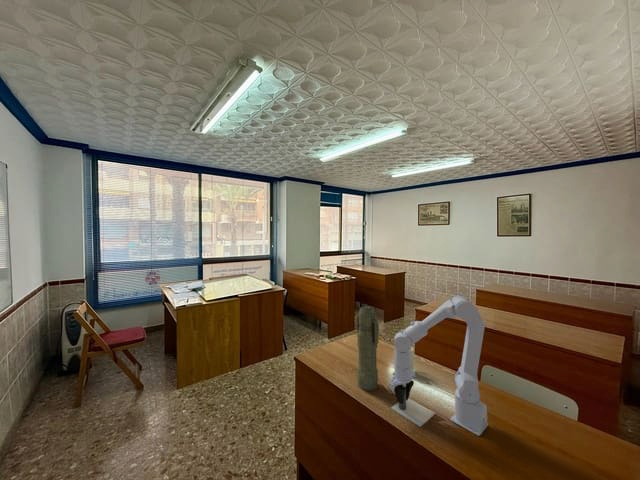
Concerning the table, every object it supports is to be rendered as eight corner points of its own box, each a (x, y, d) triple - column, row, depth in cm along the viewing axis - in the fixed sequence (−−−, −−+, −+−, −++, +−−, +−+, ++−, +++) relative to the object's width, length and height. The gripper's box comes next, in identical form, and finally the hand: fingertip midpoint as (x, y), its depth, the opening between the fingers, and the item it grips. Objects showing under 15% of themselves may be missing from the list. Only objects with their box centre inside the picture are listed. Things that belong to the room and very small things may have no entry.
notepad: (434, 414, 93) (434, 412, 93) (420, 426, 87) (420, 425, 87) (406, 398, 103) (406, 396, 103) (391, 408, 97) (391, 407, 97)
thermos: (372, 395, 105) (372, 311, 105) (351, 383, 114) (350, 306, 113) (384, 386, 111) (384, 307, 111) (363, 376, 120) (363, 302, 119)
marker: (408, 408, 96) (407, 382, 96) (403, 411, 94) (402, 384, 94) (401, 404, 98) (401, 378, 98) (396, 407, 97) (396, 381, 96)
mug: (408, 378, 117) (408, 352, 117) (396, 372, 123) (396, 347, 123) (420, 371, 124) (419, 346, 124) (407, 365, 129) (407, 342, 129)
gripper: (404, 355, 104) (404, 388, 104) (381, 367, 95) (382, 403, 95) (419, 362, 98) (420, 397, 98) (398, 375, 89) (398, 413, 89)
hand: (402, 400), depth 96 cm, fingers closed on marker, 3 cm apart
